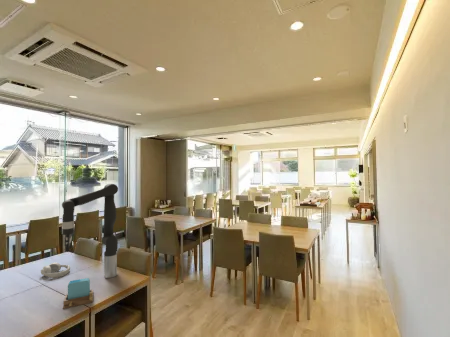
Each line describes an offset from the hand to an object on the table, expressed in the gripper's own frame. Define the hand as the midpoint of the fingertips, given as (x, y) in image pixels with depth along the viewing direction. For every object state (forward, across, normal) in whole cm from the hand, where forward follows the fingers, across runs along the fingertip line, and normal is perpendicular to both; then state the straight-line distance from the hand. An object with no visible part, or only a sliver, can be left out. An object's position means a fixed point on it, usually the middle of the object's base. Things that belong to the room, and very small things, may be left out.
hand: (68, 249), depth 174 cm
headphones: (+28, +33, +13) cm, 46 cm away
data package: (+27, -24, -9) cm, 37 cm away
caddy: (+28, -24, -9) cm, 38 cm away
